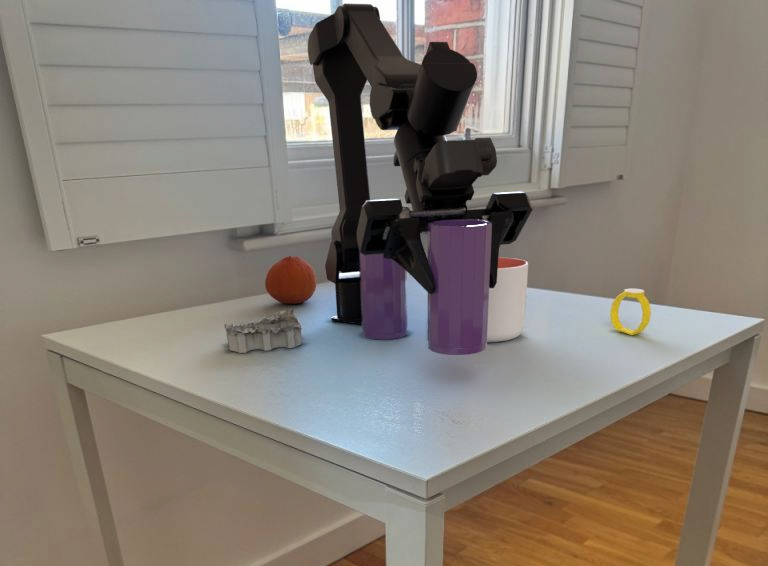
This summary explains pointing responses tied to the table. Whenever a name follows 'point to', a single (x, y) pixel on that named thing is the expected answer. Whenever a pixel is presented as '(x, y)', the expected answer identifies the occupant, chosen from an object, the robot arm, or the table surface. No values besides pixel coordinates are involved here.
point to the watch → (644, 304)
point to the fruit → (291, 281)
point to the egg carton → (265, 333)
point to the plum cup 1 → (382, 297)
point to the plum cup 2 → (459, 285)
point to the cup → (508, 300)
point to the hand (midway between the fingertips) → (463, 288)
